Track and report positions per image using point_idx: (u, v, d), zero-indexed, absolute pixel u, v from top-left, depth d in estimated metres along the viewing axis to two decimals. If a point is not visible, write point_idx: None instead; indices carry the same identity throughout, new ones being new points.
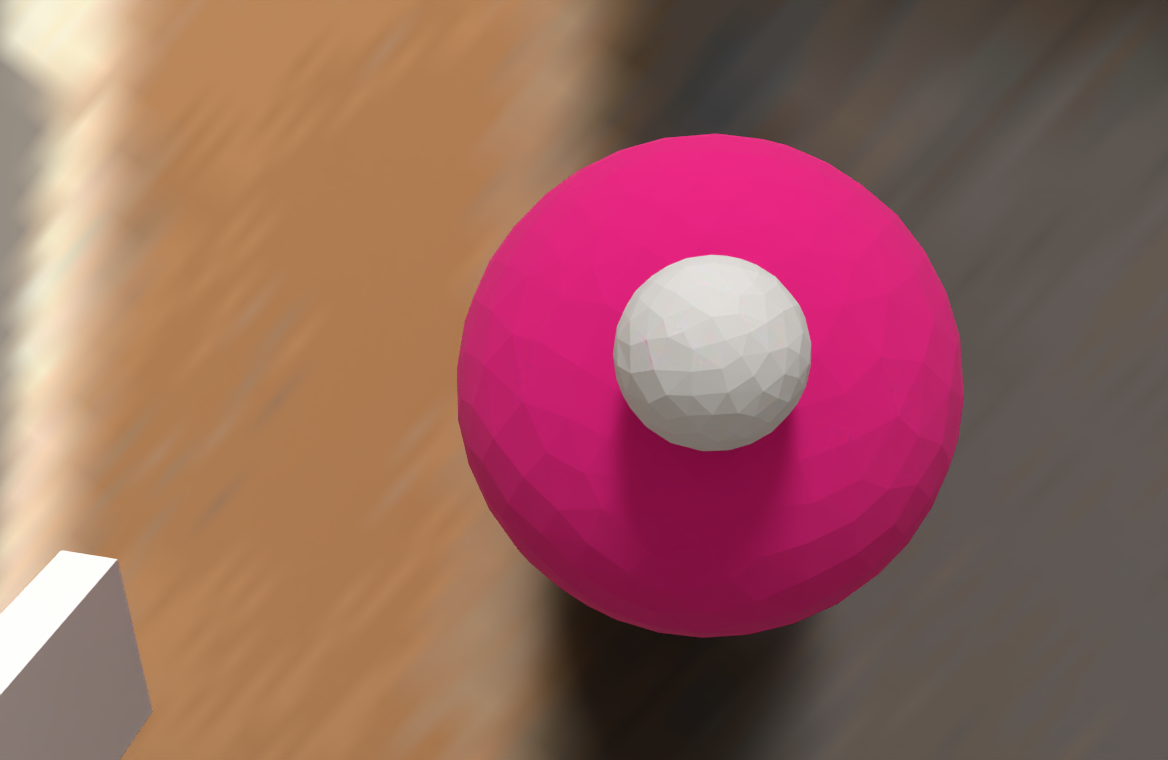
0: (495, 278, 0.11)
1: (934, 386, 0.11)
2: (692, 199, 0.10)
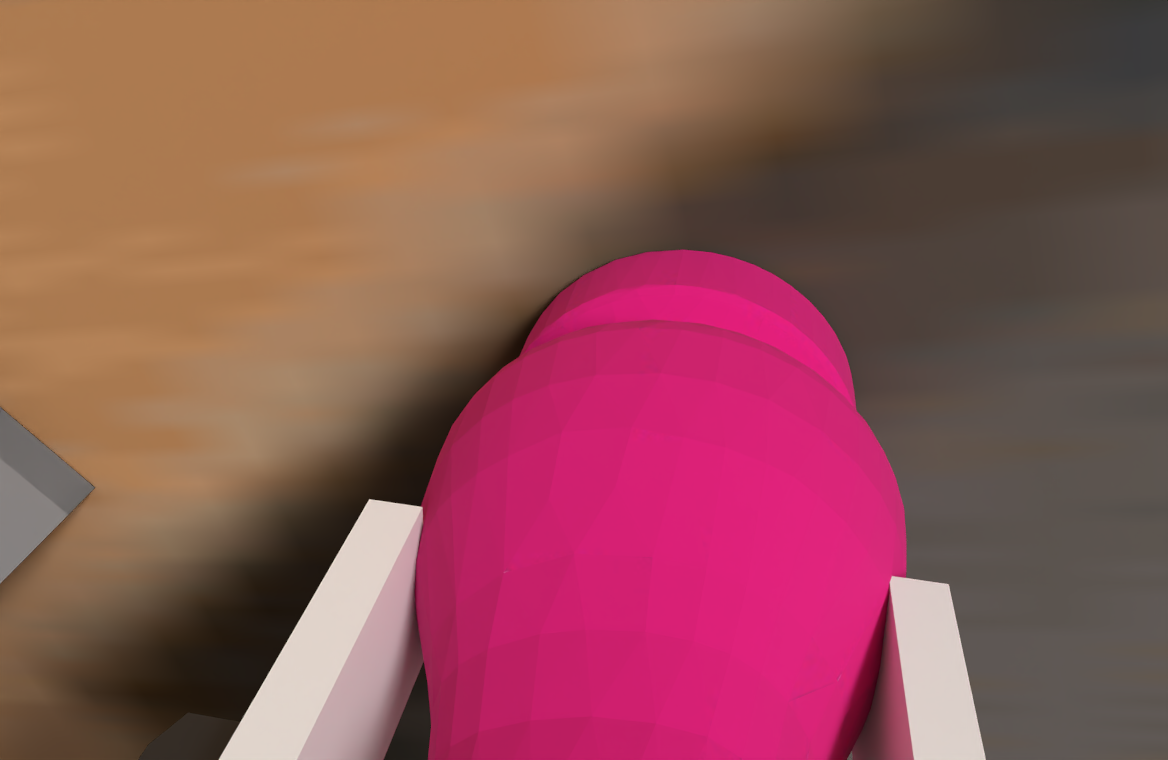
0: None
1: None
2: None
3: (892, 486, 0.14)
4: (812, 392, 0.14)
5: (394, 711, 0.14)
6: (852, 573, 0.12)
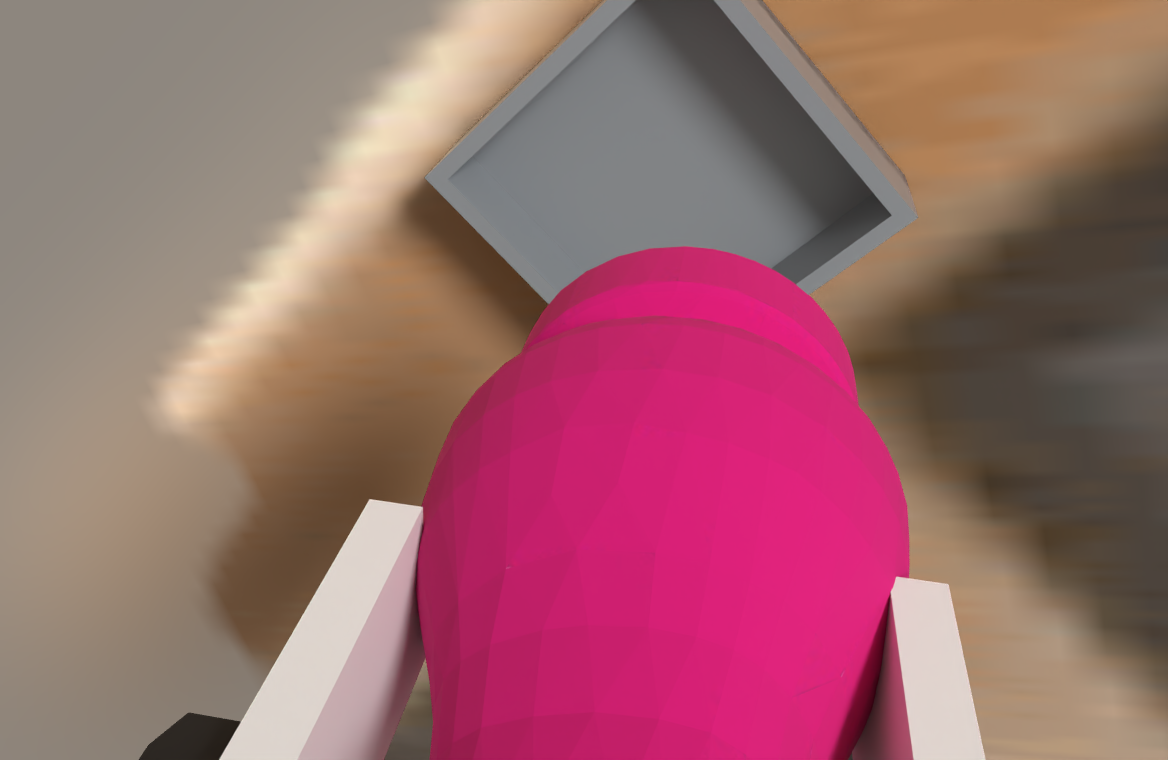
0: None
1: None
2: None
3: (895, 482, 0.14)
4: (815, 388, 0.14)
5: (394, 711, 0.14)
6: (854, 568, 0.12)
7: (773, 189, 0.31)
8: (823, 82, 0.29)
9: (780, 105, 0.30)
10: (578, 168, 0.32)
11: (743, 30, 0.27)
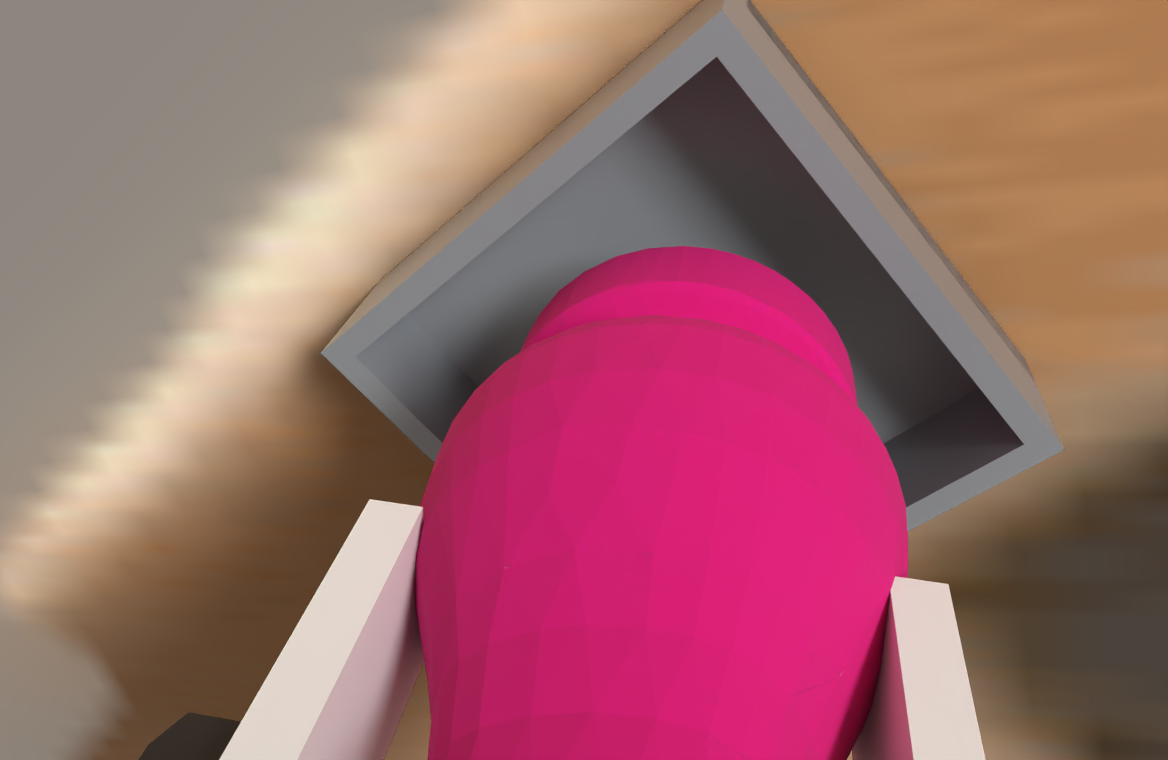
0: None
1: None
2: None
3: (894, 482, 0.14)
4: (813, 388, 0.14)
5: (394, 711, 0.14)
6: (853, 569, 0.12)
7: None
8: (919, 232, 0.20)
9: (852, 261, 0.20)
10: None
11: (813, 170, 0.17)
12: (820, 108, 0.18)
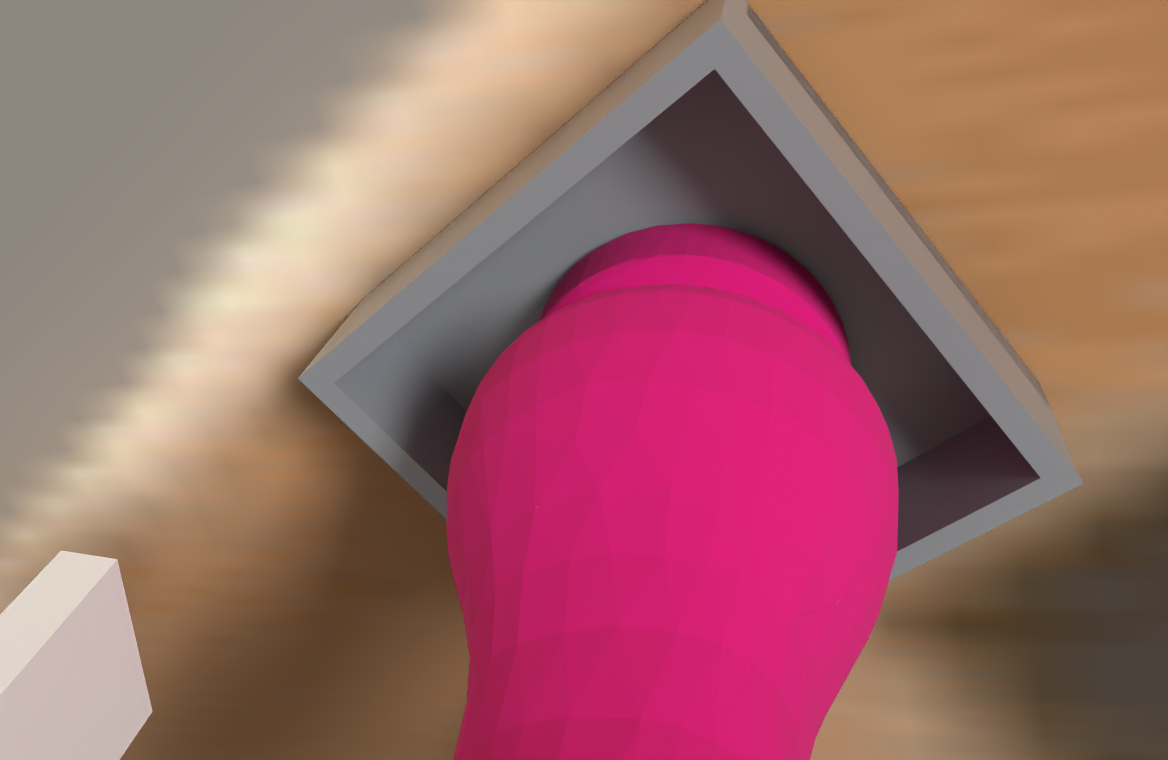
0: None
1: None
2: None
3: (885, 436, 0.15)
4: (812, 349, 0.15)
5: None
6: (849, 509, 0.14)
7: None
8: (929, 251, 0.19)
9: (858, 281, 0.19)
10: None
11: (818, 189, 0.16)
12: (825, 122, 0.17)
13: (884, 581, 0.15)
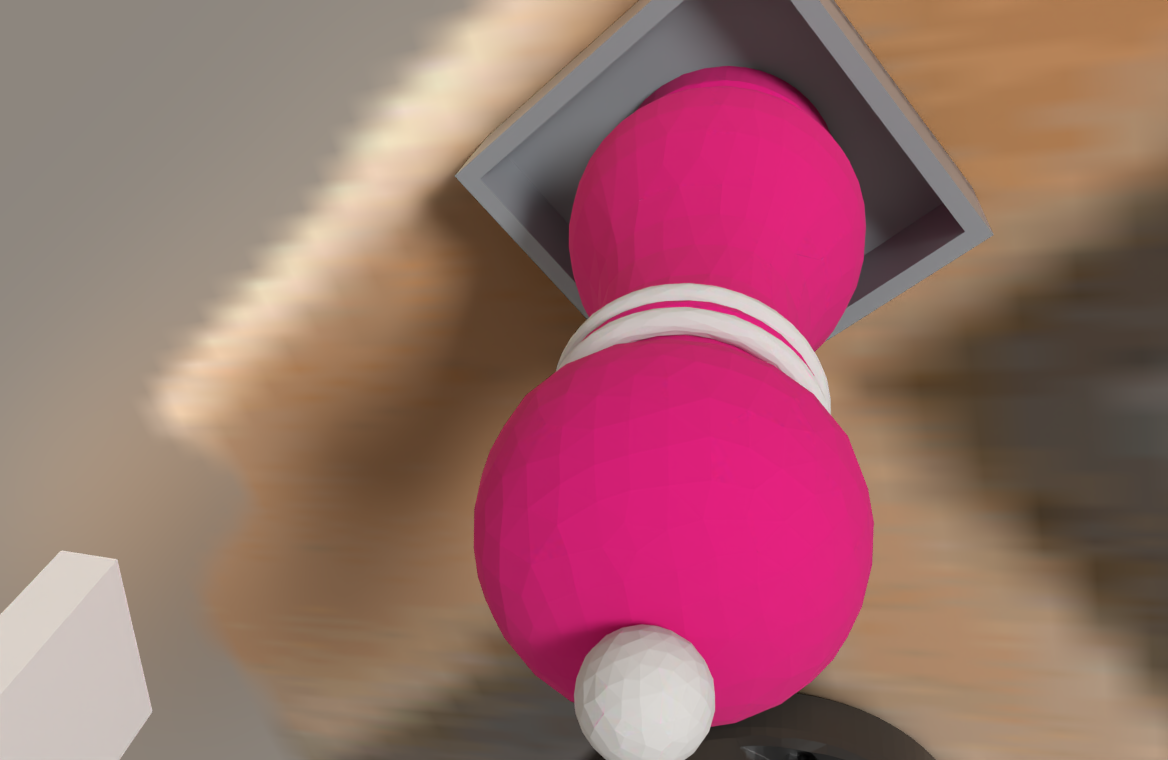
0: (581, 456, 0.13)
1: (770, 707, 0.15)
2: (734, 564, 0.13)
3: (856, 183, 0.24)
4: (809, 122, 0.23)
5: None
6: (829, 209, 0.22)
7: None
8: (892, 84, 0.27)
9: (843, 107, 0.28)
10: None
11: (814, 25, 0.24)
12: None
13: (853, 267, 0.23)
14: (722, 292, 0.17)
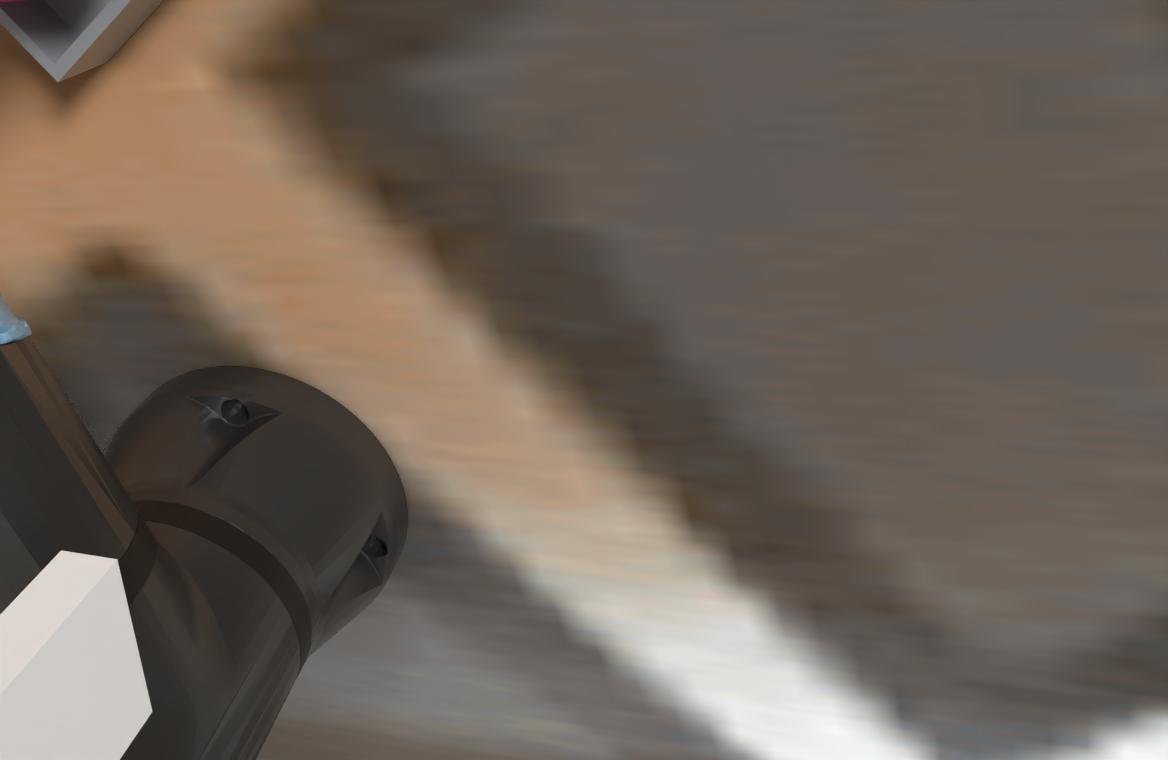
0: None
1: None
2: None
3: None
4: None
5: None
6: None
7: None
8: None
9: None
10: None
11: None
12: None
13: None
14: None
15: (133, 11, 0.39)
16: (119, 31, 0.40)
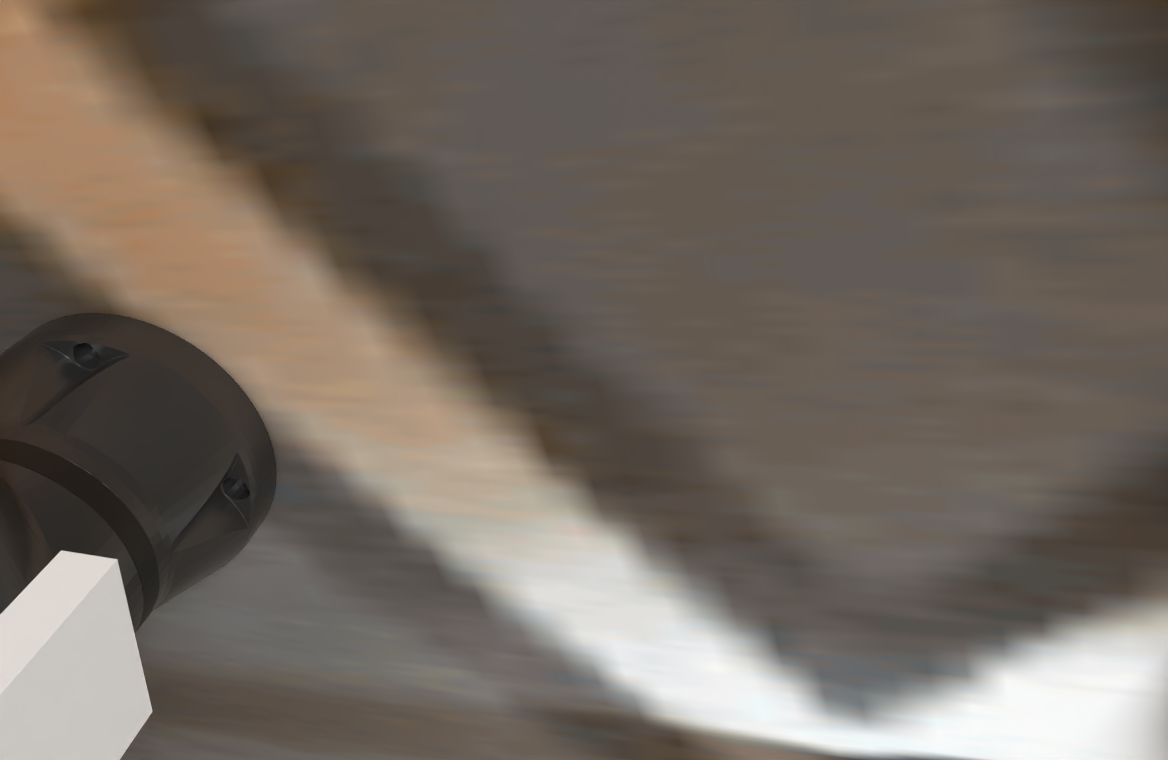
0: None
1: None
2: None
3: None
4: None
5: None
6: None
7: None
8: None
9: None
10: None
11: None
12: None
13: None
14: None
15: None
16: None
